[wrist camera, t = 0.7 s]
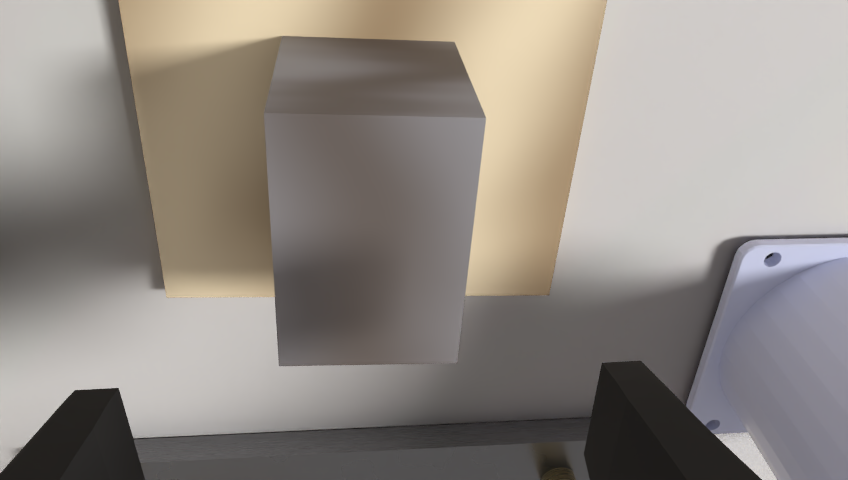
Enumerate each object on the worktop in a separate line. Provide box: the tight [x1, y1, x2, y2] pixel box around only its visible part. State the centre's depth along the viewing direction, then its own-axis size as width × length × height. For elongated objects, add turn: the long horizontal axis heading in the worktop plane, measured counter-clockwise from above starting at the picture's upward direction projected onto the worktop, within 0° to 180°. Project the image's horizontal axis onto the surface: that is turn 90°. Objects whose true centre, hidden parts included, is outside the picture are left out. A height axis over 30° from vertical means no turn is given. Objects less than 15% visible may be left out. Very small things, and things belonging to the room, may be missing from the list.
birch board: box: [118, 0, 607, 366], centre depth 17 cm, size 11×9×6 cm
